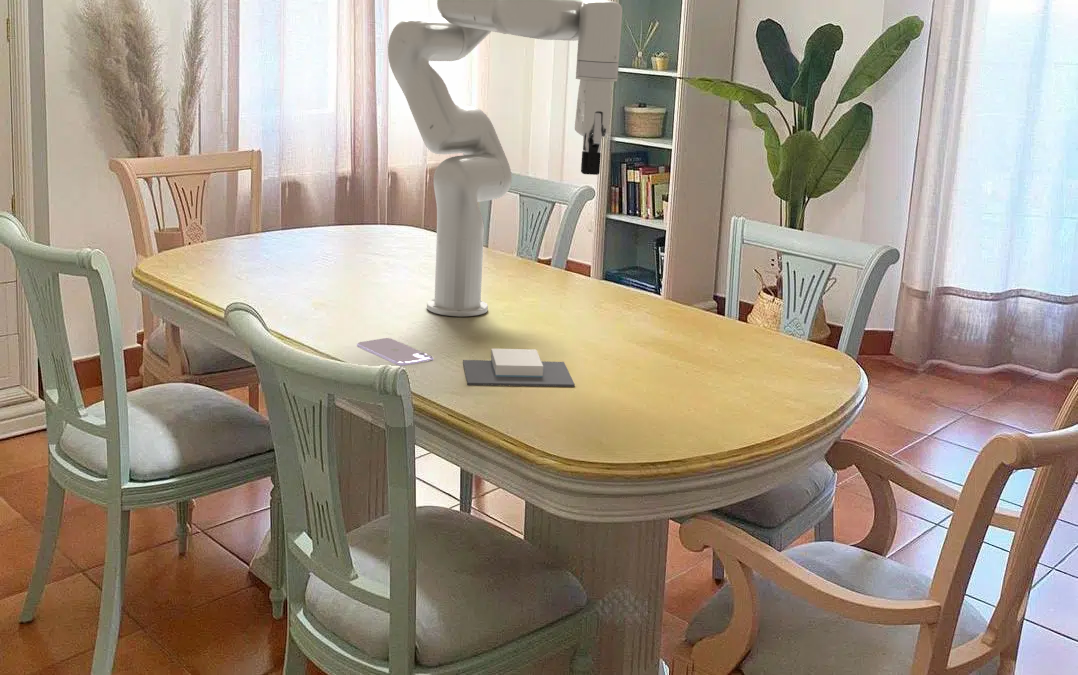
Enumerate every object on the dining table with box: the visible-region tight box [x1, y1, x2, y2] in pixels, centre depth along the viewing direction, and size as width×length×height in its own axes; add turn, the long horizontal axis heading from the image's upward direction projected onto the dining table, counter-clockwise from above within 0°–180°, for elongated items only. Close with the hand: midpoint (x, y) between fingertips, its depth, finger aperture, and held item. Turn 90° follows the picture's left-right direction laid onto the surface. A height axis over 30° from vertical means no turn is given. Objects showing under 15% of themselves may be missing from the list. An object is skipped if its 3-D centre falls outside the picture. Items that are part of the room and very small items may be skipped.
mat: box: [462, 359, 575, 388], centre depth 202 cm, size 13×18×1 cm
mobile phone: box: [356, 337, 434, 366], centre depth 211 cm, size 8×1×15 cm
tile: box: [490, 348, 543, 377], centre depth 204 cm, size 2×8×10 cm
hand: (590, 173), depth 216 cm, fingers closed
